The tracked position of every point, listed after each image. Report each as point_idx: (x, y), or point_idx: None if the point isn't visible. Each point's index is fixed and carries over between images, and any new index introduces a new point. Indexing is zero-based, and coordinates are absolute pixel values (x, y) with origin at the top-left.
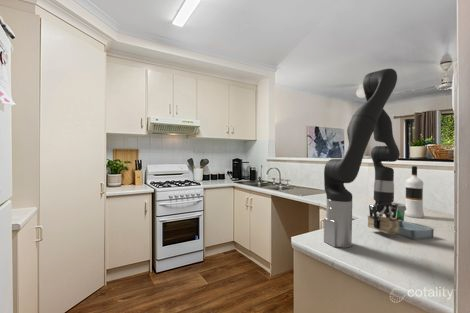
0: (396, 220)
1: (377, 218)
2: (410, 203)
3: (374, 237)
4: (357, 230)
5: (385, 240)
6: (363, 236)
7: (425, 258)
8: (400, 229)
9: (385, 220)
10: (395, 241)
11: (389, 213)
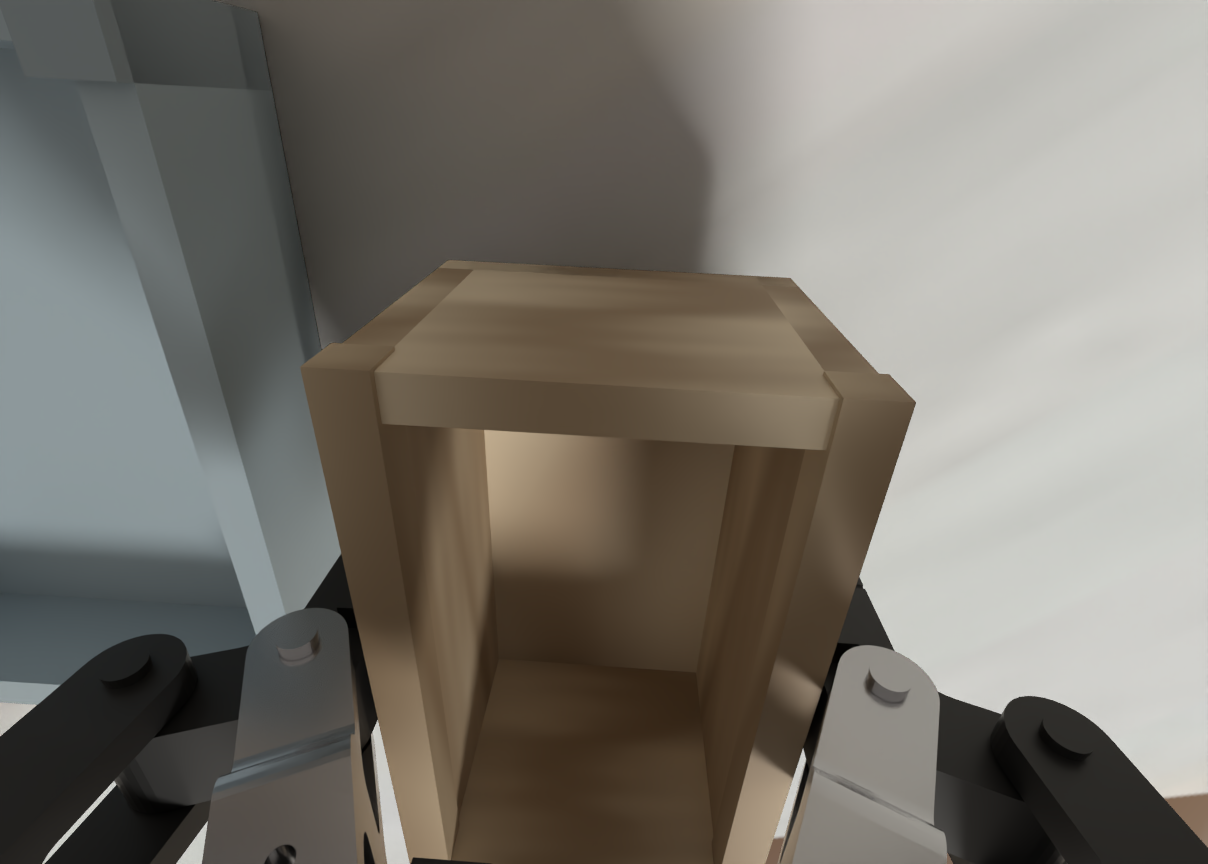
0: (337, 457)
1: (937, 716)
2: None
3: (926, 387)
4: None
5: (916, 201)
6: (1050, 475)
7: None
8: (248, 366)
9: (451, 662)
10: (779, 82)
11: (355, 837)
